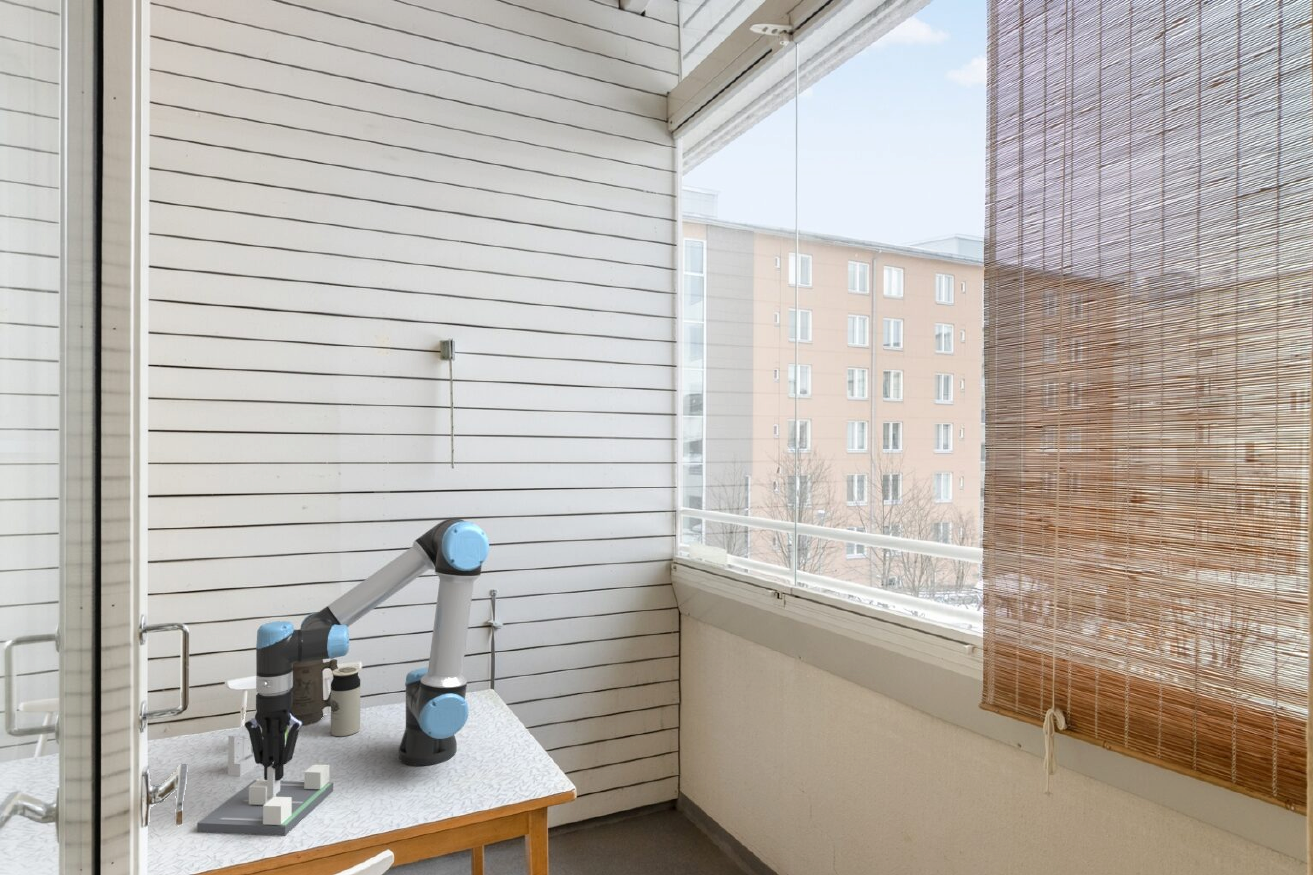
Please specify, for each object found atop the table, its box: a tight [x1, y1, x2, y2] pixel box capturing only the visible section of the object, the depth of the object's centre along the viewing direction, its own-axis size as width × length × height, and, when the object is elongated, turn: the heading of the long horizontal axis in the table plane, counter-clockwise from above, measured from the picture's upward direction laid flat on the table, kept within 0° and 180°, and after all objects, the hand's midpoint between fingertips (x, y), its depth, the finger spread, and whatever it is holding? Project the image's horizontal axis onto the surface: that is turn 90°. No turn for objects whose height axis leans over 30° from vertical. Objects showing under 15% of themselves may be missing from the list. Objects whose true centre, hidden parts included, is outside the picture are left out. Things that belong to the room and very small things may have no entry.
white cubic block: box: [249, 778, 276, 805], centre depth 166 cm, size 4×4×4 cm
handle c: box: [263, 797, 292, 825], centre depth 157 cm, size 4×4×4 cm
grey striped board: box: [196, 779, 334, 837], centre depth 166 cm, size 20×20×2 cm
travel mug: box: [330, 666, 361, 737], centre depth 211 cm, size 8×8×18 cm
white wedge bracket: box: [227, 735, 258, 777], centre depth 185 cm, size 4×10×9 cm, turn 168°
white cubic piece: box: [303, 764, 330, 789], centre depth 173 cm, size 4×4×4 cm
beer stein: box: [288, 658, 339, 727], centre depth 221 cm, size 15×11×20 cm
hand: (273, 793), depth 166 cm, fingers closed
